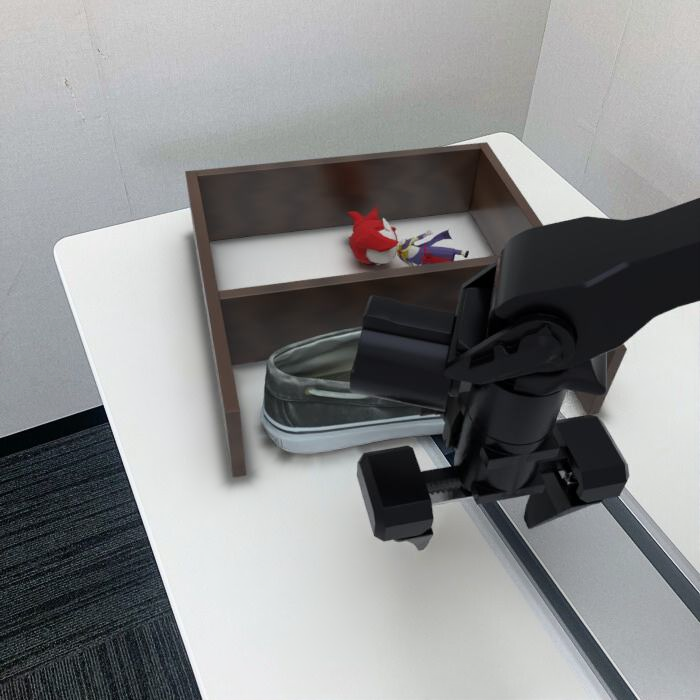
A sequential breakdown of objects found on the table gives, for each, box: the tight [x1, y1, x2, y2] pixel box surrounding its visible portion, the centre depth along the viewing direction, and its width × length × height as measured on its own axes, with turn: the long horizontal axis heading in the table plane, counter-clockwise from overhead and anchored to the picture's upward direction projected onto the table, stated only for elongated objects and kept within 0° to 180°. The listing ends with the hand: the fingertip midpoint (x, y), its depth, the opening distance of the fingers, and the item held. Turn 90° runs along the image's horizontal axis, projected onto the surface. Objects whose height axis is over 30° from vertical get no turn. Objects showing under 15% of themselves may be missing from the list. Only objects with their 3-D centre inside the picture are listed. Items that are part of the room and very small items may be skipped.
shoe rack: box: [184, 141, 628, 478], centre depth 78 cm, size 35×35×9 cm
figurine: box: [348, 206, 470, 267], centre depth 85 cm, size 6×8×15 cm
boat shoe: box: [260, 327, 445, 455], centre depth 69 cm, size 10×29×10 cm, turn 113°
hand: (474, 534), depth 60 cm, fingers open, 9 cm apart
